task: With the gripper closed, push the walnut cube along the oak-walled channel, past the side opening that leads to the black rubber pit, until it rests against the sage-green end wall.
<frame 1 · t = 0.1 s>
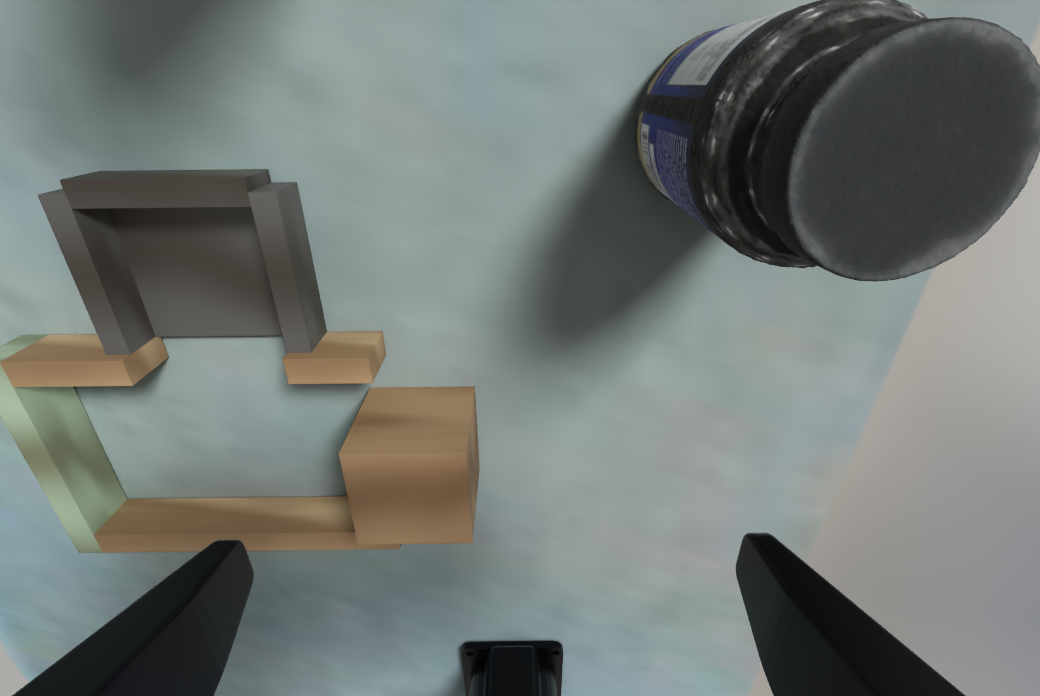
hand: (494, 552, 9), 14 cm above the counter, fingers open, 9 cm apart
walnut block: (427, 428, 26), on the counter
pill bottle: (711, 122, 20), on the counter
channel: (246, 432, 26), on the counter
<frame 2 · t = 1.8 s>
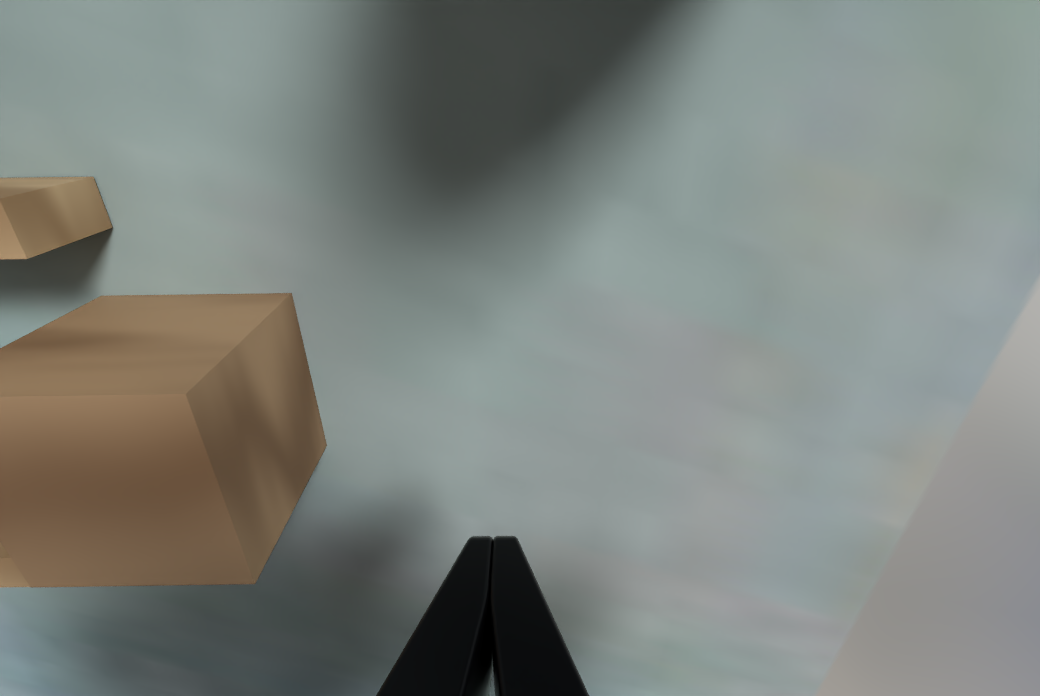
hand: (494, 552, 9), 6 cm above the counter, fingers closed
walnut block: (224, 375, 15), on the counter
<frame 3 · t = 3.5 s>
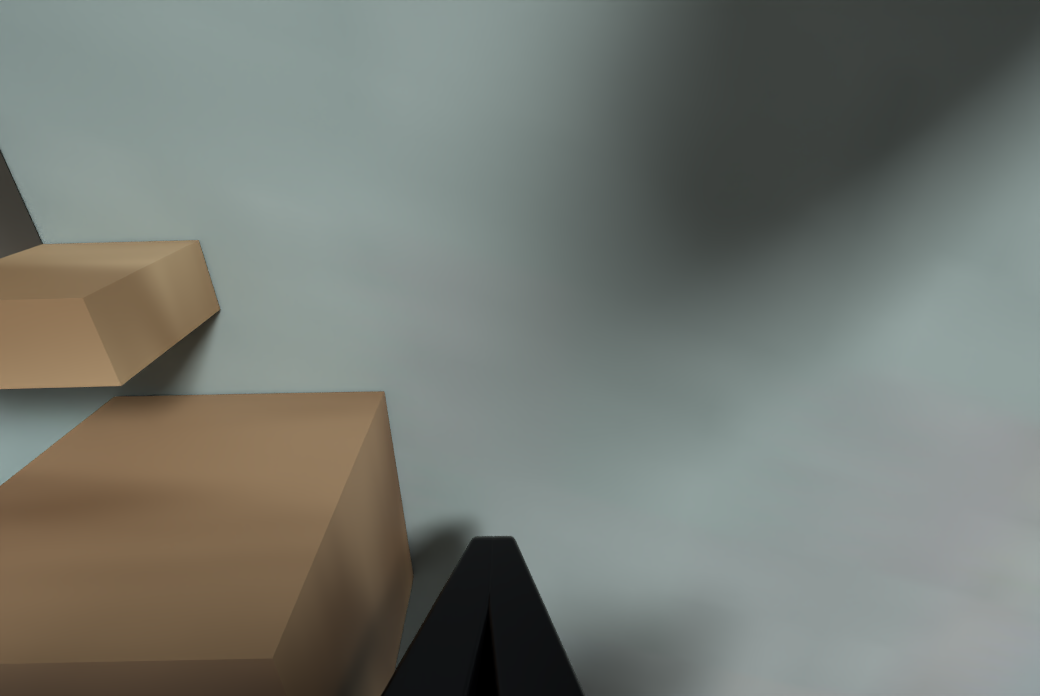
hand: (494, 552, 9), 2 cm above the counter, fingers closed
walnut block: (280, 496, 11), on the counter, touching gripper
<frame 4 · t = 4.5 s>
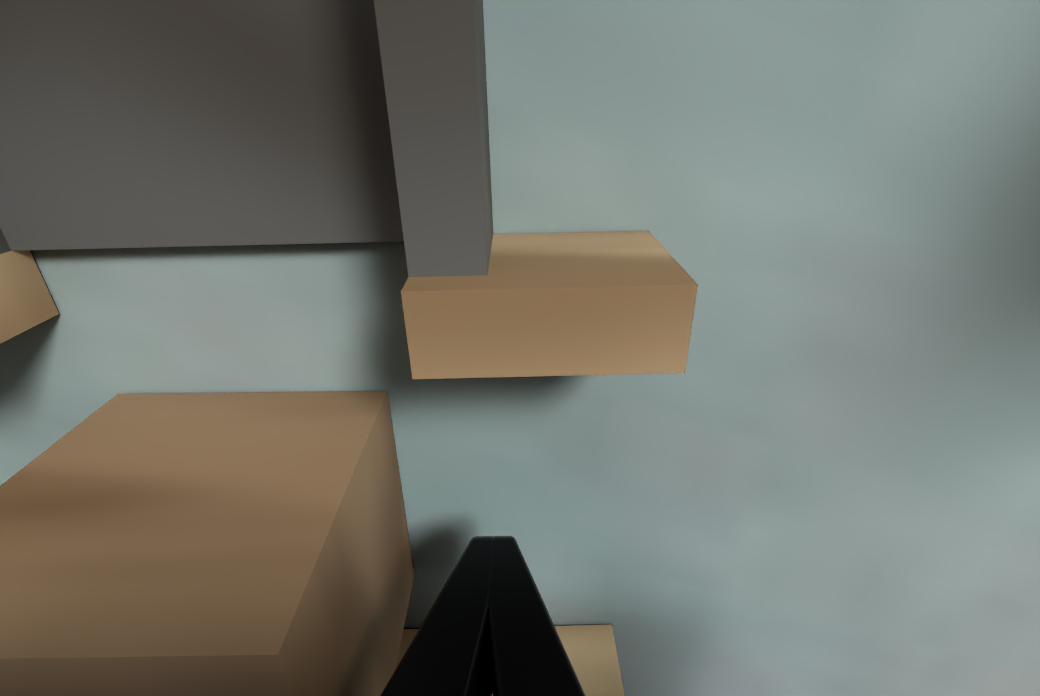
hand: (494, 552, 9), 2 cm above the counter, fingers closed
walnut block: (282, 494, 11), resting in channel, touching gripper
channel: (266, 500, 11), on the counter
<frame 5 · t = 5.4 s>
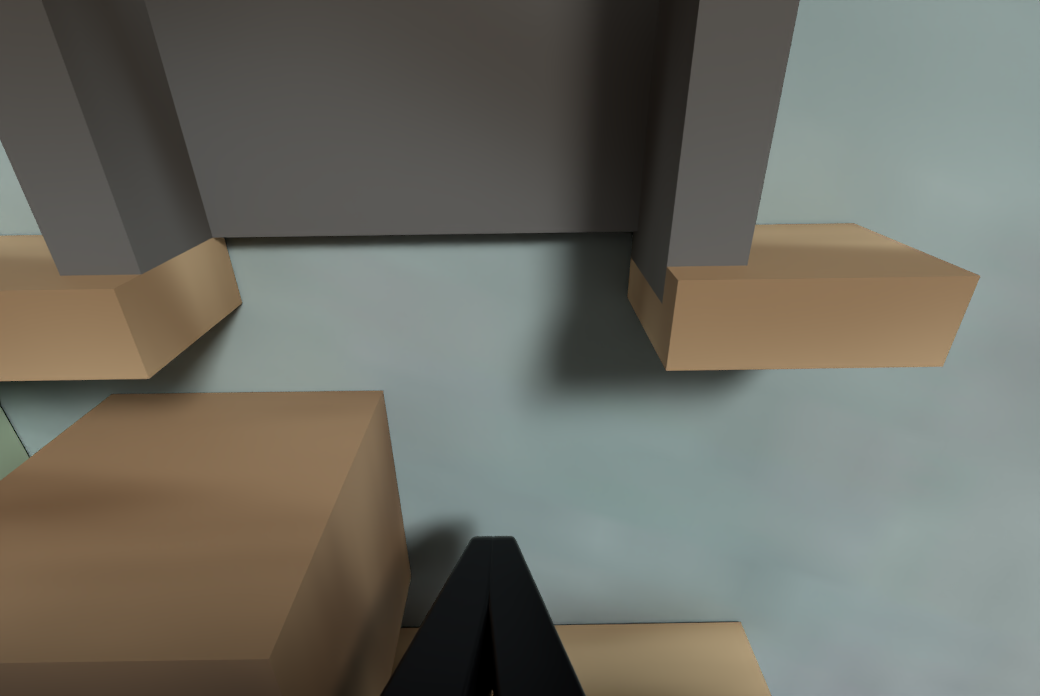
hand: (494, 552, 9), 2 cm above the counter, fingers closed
walnut block: (277, 495, 11), resting in channel, touching gripper
channel: (416, 494, 11), on the counter
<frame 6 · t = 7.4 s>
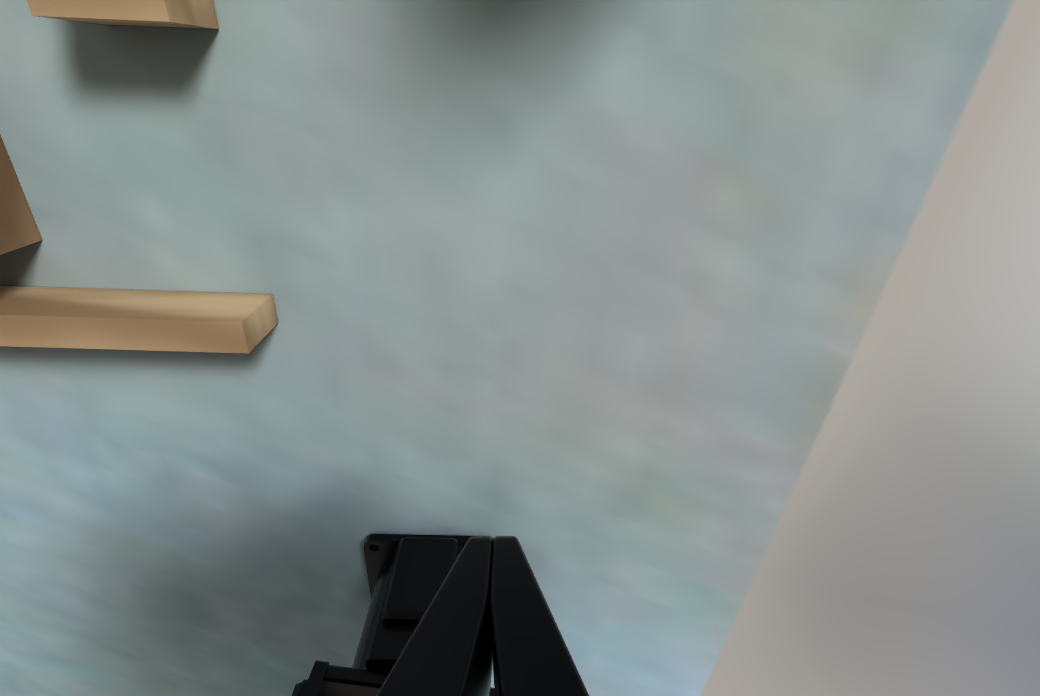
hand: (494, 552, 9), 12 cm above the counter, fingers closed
channel: (24, 168, 17), on the counter
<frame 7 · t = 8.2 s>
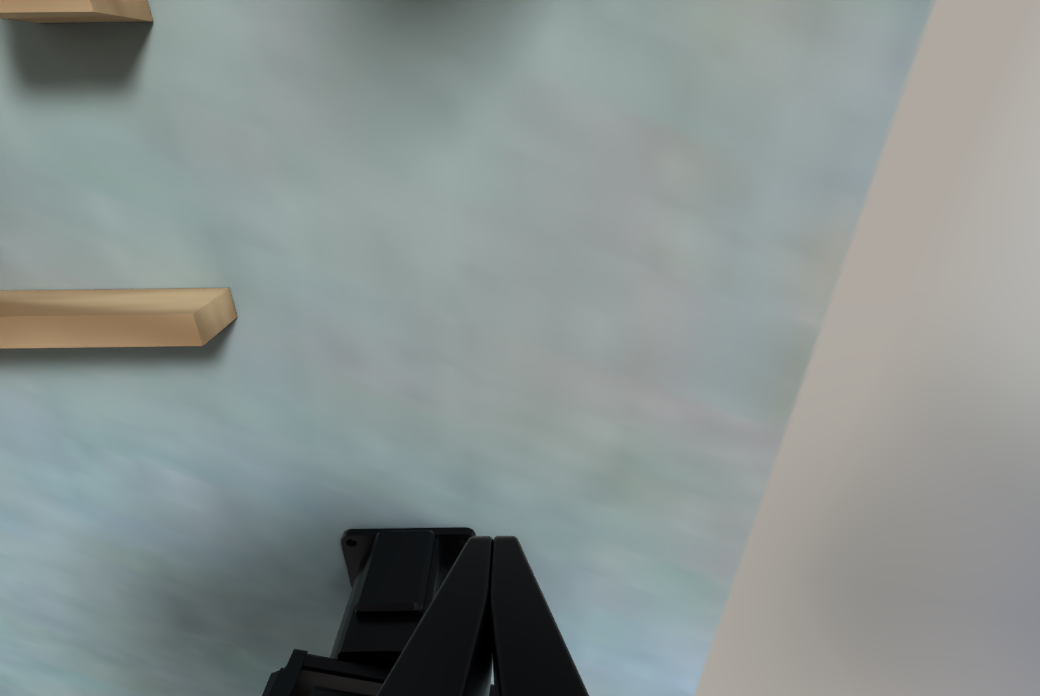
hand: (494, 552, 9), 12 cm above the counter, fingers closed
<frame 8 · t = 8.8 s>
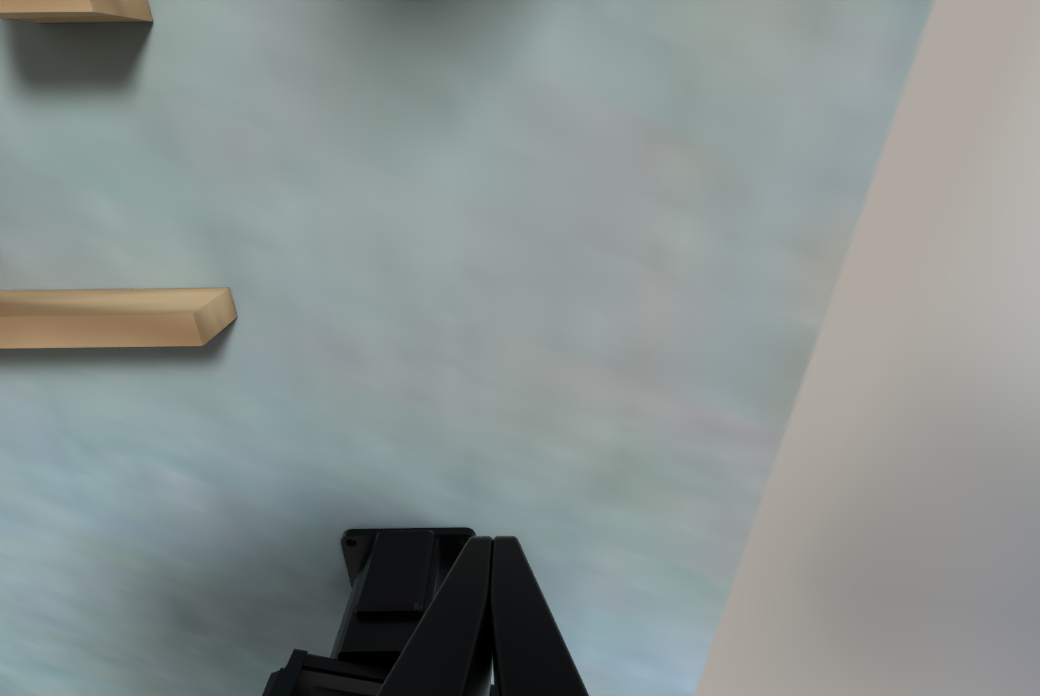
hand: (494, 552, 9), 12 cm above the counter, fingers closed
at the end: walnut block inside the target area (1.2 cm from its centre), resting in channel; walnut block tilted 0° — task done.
